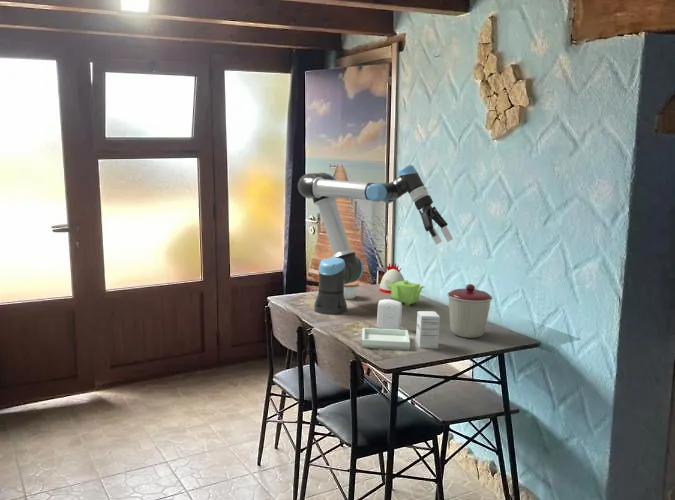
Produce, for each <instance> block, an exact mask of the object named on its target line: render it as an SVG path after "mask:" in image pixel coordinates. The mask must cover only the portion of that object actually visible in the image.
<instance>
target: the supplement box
mask: <svg viewBox="0 0 675 500" xmlns="http://www.w3.org/2000/svg"><path fill="white" fill-rule="evenodd" d="M416 313H417V315H416V329H415V330H416V333H415V343H416V344H417V346H418V347H419V349H438V348H439V337H440V333H439V332H440V323H441V322H440V321H441V316H440V315H439V314H438V313H437V312H436V311H435V310H434V311H432V310H430V311H429V310H425V311H423V310H420V311H417V312H416Z"/></svg>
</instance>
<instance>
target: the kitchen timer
mask: <svg viewBox="0 0 675 500" xmlns="http://www.w3.org/2000/svg"><path fill="white" fill-rule="evenodd" d="M399 267H400V266H399V265H397V263H394V262H392V263H390V262H388V265H387V264H386V265H385V268H386V269H387V271H386V272H385V273H384V275H382V277H381V281H380V284H379V291H380V292H381V293H384V294H388V293H389V295H391V290H390V289H389V288H388V285H389V284H391V285H392V284H393V283H396V282H399V281H404V280H405V278H404V275H403V274H402V272H401V271H402V267H401V268H399Z"/></svg>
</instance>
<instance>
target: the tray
mask: <svg viewBox="0 0 675 500" xmlns="http://www.w3.org/2000/svg"><path fill="white" fill-rule="evenodd" d="M410 340H411V339H410V336H409V331H408V329H401V330H398V329H384V328H376V327H375V328H374V327H362V329H361V348H365V349H379V350H380V349H383V350H402V351H403V350H404V351H406V350H407V351H410V348H411V347H410V346H411V341H410Z"/></svg>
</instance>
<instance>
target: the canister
mask: <svg viewBox="0 0 675 500" xmlns="http://www.w3.org/2000/svg"><path fill="white" fill-rule="evenodd" d="M447 297H448V311H449V326H450V330H451V332H452V334H453V335H455V336H457V337H461V338H466V339H467V338H468V339H476V338H479V337H481V336H483V334H484V333H485V330H486V327H487V322H488V317H489V314H490V313H489V312H490V307H491V301H492V300H493V299H494V298H493V296H492V295H491V294H490V293H488V292H486V291H484V290H480V289H476V287H475V285H474V284H471V283H469V284H467V285H466V286H465V288H456V289H452V290H451V291H449V292H447Z"/></svg>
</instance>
